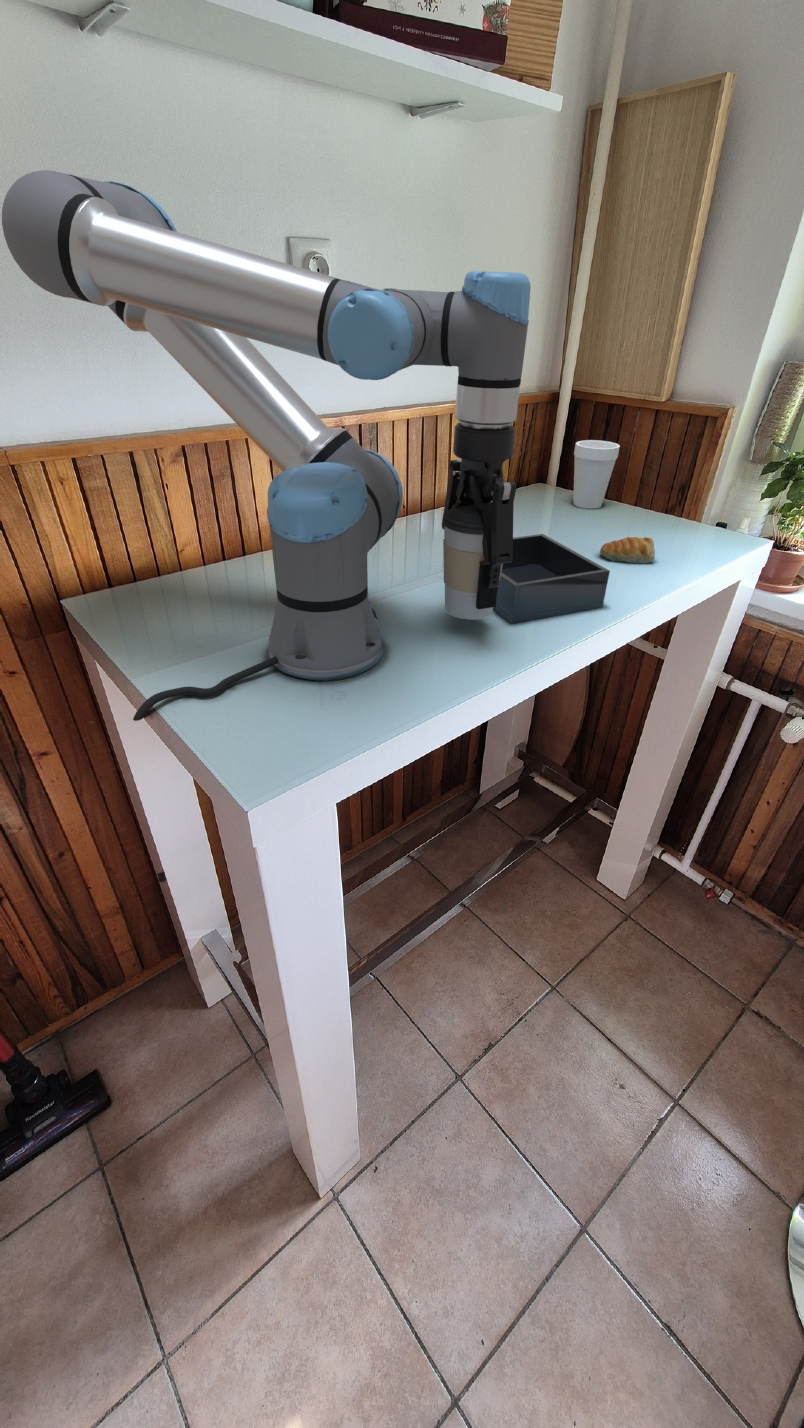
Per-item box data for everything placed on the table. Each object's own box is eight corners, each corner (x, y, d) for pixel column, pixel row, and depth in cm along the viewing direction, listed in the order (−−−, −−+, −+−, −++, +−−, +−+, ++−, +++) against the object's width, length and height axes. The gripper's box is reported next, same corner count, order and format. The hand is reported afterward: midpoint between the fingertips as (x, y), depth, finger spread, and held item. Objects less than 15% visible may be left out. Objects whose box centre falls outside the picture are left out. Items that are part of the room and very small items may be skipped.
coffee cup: (497, 626, 89) (510, 517, 81) (432, 619, 90) (438, 511, 82) (502, 600, 96) (514, 498, 88) (442, 593, 98) (448, 492, 89)
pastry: (604, 564, 117) (608, 543, 115) (594, 551, 122) (598, 531, 120) (656, 564, 117) (660, 543, 115) (643, 551, 123) (647, 531, 121)
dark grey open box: (511, 623, 96) (515, 585, 92) (455, 579, 110) (457, 544, 107) (602, 607, 101) (610, 570, 98) (538, 566, 115) (542, 533, 112)
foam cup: (567, 508, 145) (576, 447, 138) (565, 497, 153) (574, 439, 146) (610, 511, 144) (622, 449, 137) (606, 500, 152) (617, 441, 145)
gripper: (560, 438, 73) (532, 621, 85) (472, 407, 89) (459, 565, 101) (502, 442, 70) (482, 629, 83) (422, 409, 86) (416, 570, 99)
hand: (470, 594), depth 92 cm, fingers closed on coffee cup, 9 cm apart
